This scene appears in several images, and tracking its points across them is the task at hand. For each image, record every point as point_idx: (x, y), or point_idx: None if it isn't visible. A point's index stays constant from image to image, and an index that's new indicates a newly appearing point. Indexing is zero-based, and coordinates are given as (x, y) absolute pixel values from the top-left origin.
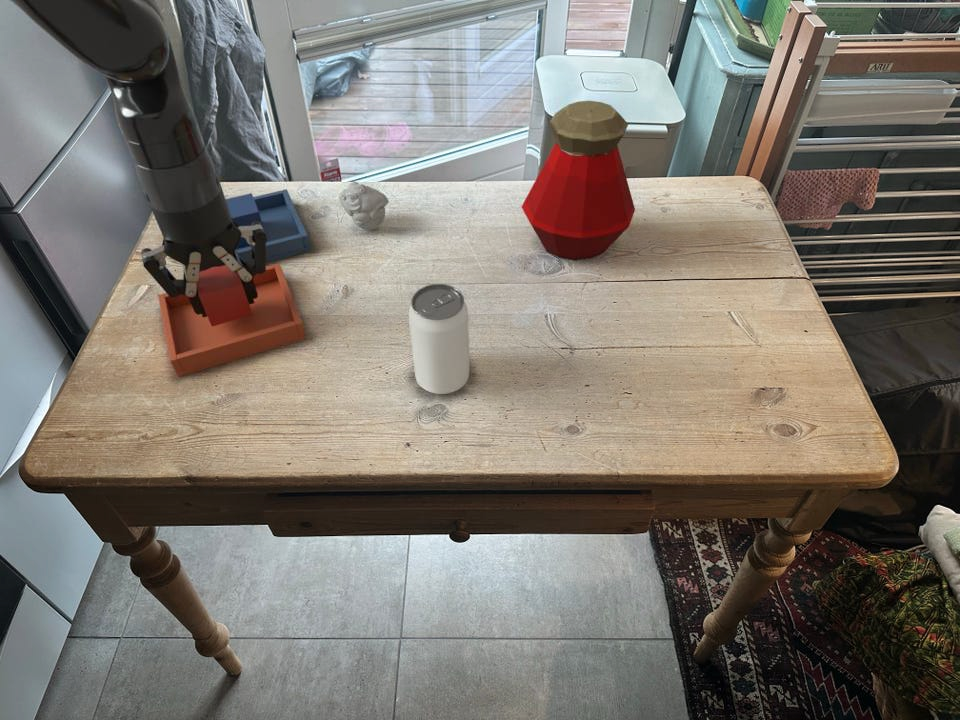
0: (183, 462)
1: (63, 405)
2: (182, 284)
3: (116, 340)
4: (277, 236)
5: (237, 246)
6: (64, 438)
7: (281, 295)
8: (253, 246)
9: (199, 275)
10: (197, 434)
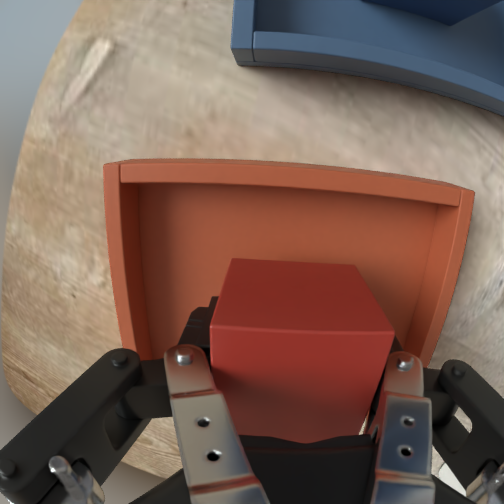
0: (160, 470)
1: (4, 327)
2: (163, 410)
3: (39, 218)
4: (473, 29)
5: (377, 1)
6: (23, 377)
7: (421, 266)
8: (475, 463)
9: (232, 364)
10: (177, 456)
